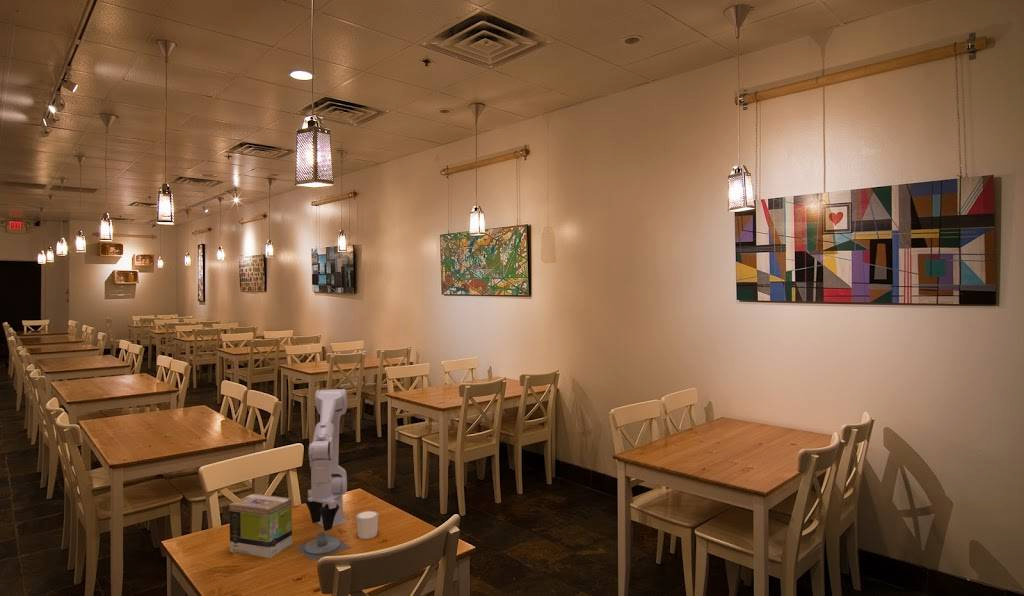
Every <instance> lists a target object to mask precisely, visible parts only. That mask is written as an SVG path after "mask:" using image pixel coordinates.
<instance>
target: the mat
mask: <svg viewBox="0 0 1024 596" xmlns="http://www.w3.org/2000/svg"><path fill="white" fill-rule="evenodd" d="M327 537H333V538H336V539H338V540H339V541H340V546H339V548H338V549H336V550H335V551H333V552H330V553H327V554H322V555H312V554H308V553H306V552H305V545H306V544H307V543H308V542H305V543H301V544H299V545H297V546H294V549H295V550H297V551H298V552H300V553H301V554H303V555H304V556H305V557H306V558H308V559H309V560H310V561H316V560H318V559H322V558H324V557H323V556H325V557H327V556H330V555H332V554H335V553H338V552H342V551H345V550H347V549H350V548H351V546H350V545H348V544H346V543H345V542H344V541H342V540H341V539H340V538H337V537H336V536H334V535H333V534H330V535H327ZM321 557H322V558H321Z"/></svg>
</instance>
